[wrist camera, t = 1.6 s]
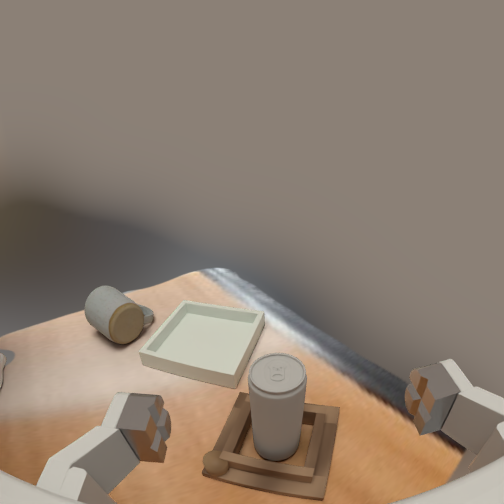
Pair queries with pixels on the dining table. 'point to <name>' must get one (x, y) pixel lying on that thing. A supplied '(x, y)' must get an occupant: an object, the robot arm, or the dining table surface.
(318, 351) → the dining table surface
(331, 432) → the walnut collar
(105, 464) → the robot arm
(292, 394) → the beverage can
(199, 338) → the tray
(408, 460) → the dining table surface
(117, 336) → the ceramic mug
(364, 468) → the dining table surface
